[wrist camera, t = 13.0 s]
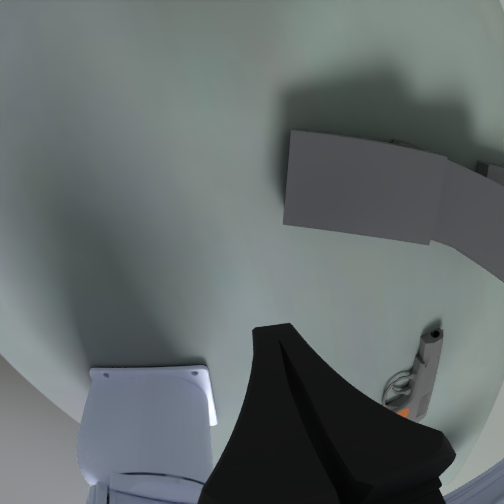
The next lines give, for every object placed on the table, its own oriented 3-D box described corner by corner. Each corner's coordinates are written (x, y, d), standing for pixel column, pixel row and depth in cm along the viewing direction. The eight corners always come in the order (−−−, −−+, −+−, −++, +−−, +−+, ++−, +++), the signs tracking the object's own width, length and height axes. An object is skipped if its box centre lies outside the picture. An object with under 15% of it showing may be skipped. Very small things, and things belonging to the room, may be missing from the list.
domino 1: (282, 224, 16) (428, 245, 15) (290, 130, 14) (447, 157, 13) (286, 213, 18) (419, 233, 17) (293, 128, 16) (435, 152, 15)
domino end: (475, 227, 19) (525, 228, 20) (488, 164, 17) (537, 178, 18) (461, 218, 21) (512, 221, 22) (472, 158, 18) (523, 172, 19)
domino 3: (438, 238, 18) (505, 284, 18) (472, 176, 16) (537, 232, 16) (430, 228, 20) (496, 273, 20) (461, 171, 18) (525, 224, 18)
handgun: (321, 374, 25) (438, 323, 25) (337, 445, 33) (422, 408, 32) (327, 389, 24) (448, 335, 24) (341, 456, 31) (428, 418, 31)
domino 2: (375, 221, 17) (482, 258, 16) (400, 140, 15) (508, 189, 14) (371, 212, 19) (471, 247, 18) (393, 138, 16) (495, 182, 16)
